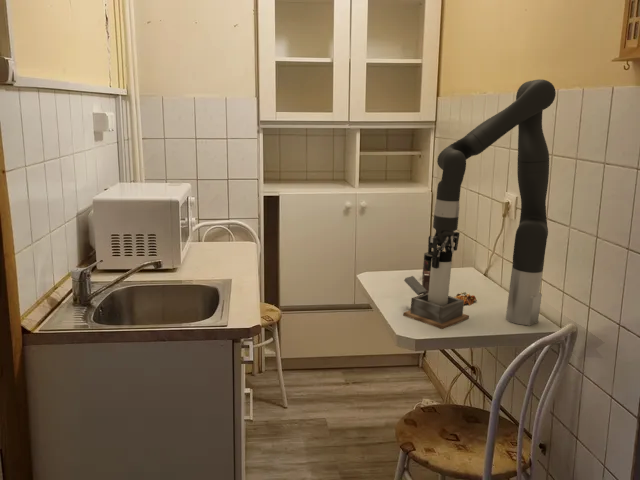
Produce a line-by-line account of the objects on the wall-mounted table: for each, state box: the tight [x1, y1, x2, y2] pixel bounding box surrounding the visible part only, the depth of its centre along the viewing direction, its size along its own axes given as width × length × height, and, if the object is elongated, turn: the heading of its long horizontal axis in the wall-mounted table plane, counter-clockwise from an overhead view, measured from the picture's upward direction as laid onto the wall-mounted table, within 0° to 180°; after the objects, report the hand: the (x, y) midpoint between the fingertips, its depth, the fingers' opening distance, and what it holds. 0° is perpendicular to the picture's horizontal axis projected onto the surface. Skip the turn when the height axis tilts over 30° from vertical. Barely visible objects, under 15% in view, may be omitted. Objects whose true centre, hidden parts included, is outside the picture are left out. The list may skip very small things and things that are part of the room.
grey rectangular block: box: [403, 275, 427, 296], centre depth 196 cm, size 7×4×1 cm
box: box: [421, 270, 431, 294], centre depth 215 cm, size 6×6×7 cm
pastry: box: [454, 291, 478, 306], centre depth 206 cm, size 7×12×4 cm, turn 143°
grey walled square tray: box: [402, 293, 470, 330], centre depth 191 cm, size 15×15×6 cm
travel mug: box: [428, 249, 453, 306], centre depth 189 cm, size 6×7×20 cm
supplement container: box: [421, 251, 432, 280], centre depth 230 cm, size 7×7×10 cm
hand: (441, 265), depth 188 cm, fingers closed on travel mug, 6 cm apart
